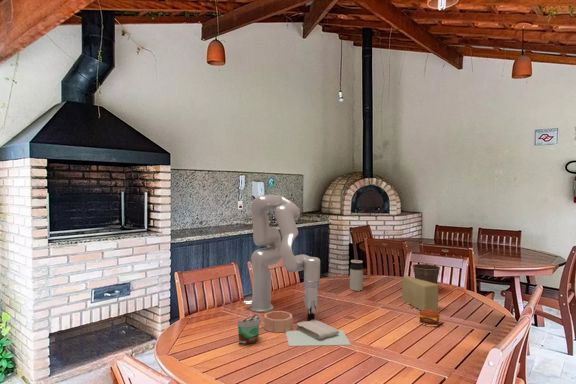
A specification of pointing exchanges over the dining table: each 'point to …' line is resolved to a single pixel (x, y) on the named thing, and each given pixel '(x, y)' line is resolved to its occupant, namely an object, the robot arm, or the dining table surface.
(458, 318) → the dining table surface
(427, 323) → the hamburger
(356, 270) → the travel mug
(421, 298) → the olive green box
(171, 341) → the dining table surface
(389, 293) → the dining table surface
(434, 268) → the plant pot
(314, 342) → the mat
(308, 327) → the washcloth
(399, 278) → the dining table surface
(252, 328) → the food container
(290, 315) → the bowl
